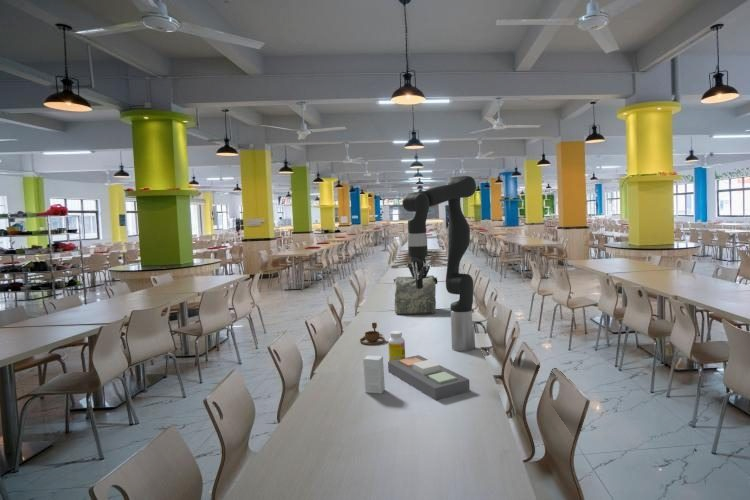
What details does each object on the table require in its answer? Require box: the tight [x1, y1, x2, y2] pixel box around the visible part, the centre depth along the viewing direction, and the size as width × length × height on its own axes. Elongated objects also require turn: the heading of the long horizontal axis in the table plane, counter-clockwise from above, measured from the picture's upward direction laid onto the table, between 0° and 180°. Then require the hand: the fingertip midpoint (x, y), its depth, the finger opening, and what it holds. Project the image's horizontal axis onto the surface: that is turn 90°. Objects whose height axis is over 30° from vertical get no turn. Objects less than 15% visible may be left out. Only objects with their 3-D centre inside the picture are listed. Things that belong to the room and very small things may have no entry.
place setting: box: [359, 322, 388, 346], centre depth 226 cm, size 18×20×6 cm
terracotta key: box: [399, 356, 422, 367], centre depth 179 cm, size 7×7×3 cm
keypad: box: [387, 354, 471, 401], centre depth 170 cm, size 14×32×4 cm, turn 27°
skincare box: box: [363, 355, 386, 394], centre depth 162 cm, size 6×4×12 cm
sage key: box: [428, 372, 456, 384], centre depth 161 cm, size 7×7×3 cm
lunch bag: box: [393, 274, 438, 316], centre depth 281 cm, size 26×18×22 cm
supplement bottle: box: [387, 330, 406, 362], centre depth 190 cm, size 7×7×13 cm
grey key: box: [412, 359, 440, 375], centre depth 170 cm, size 7×7×3 cm
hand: (419, 288), depth 184 cm, fingers closed
